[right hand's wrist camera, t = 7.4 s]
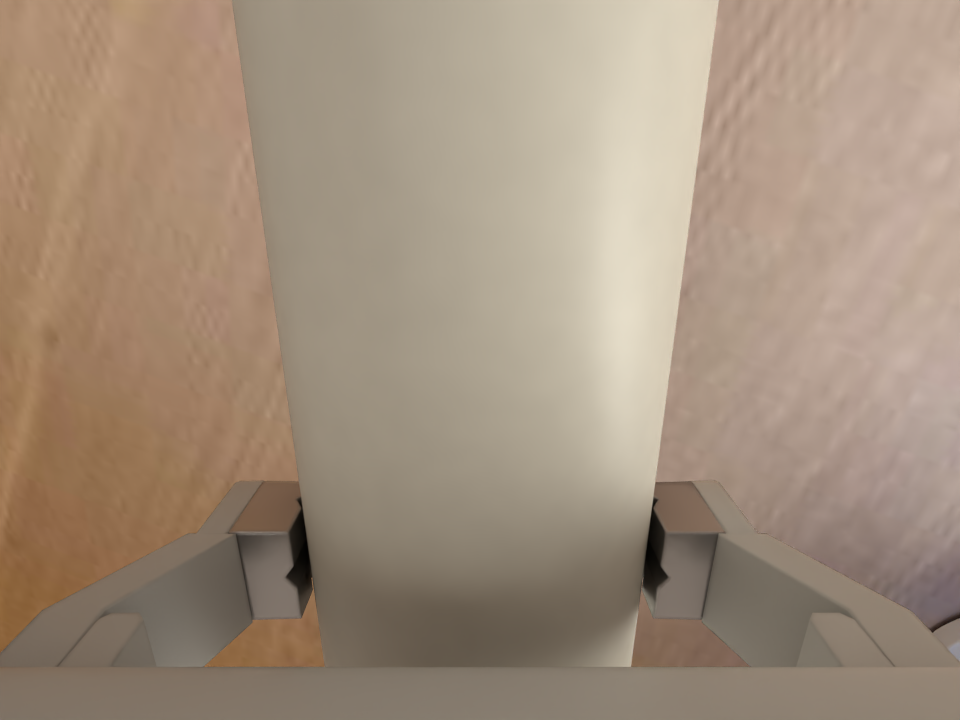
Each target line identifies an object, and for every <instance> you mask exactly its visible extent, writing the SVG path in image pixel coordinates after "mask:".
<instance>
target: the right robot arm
mask: <svg viewBox="0 0 960 720" xmlns="http://www.w3.org/2000/svg"><path fill="white" fill-rule="evenodd" d="M311 578H312V571H311V564H310V557H309V550H308V542H307V535H306V528H305V521H304V514H303V507H302V499H301V492H300V485H299V481H239V482H236V483H235V484H234V485H233V486H232V488H231V489H230V490H229V492H228V493H227V494H226V495H225V497H224V498H223V499H222V501H221V502H220V503H219V505H218V506H217V507H216V508H215V510H214V511H213V512H212V514H211V515H210V516H209V518H208V519H207V520H206V522H205V523H204V524H203V525H202V527H201V528H200V529H199V531H198V532H197V533H196V534H186V535H184V536H182V537H180V538H179V539H177V540H175V541H173V542H171V543H169V544H167V545H165V546H163V547H161V548H160V549H158V550H156V551H154V552H152V553H150V554H148V555H146V556H144V557H142V558H141V559H139V560H137V561H135V562H133V563H131V564H129V565H127V566H125V567H123V568H122V569H120V570H118V571H116V572H114V573H112V574H110V575H108V576H106V577H104V578H103V579H101V580H99V581H97V582H95V583H93V584H91V585H89V586H87V587H85V588H84V589H82V590H80V591H78V592H76V593H74V594H72V595H70V596H68V597H66V598H65V599H63V600H61V601H59V602H57V603H55V604H53V605H51V606H49V607H48V608H46V609H44V610H42V611H41V612H40V613H39V614H38V615H37V616H36V617H35V618H34V619H33V620H32V621H31V622H30V623H29V624H28V625H27V626H26V627H25V628H24V629H23V630H22V631H21V632H20V633H19V635H18V636H17V637H16V638H15V639H14V640H13V641H12V642H11V643H10V644H9V645H8V646H7V647H6V648H5V649H4V650H3V651H2V652H1V653H0V720H960V618H959V619H956V620H954V621H952V622H950V623H947V624H946V625H944V626H942V627H940V628H938V629H937V630H935V631H934V632H933V633H932V632H931V631H930V630H929V629H928V628H927V627H926V626H925V625H924V624H923V622H922V621H921V620H920V619H919V618H918V617H917V616H916V615H915V614H914V613H913V612H912V611H910V610H909V609H907V608H905V607H903V606H901V605H899V604H897V603H895V602H894V601H892V600H890V599H888V598H886V597H884V596H882V595H880V594H879V593H877V592H875V591H873V590H871V589H869V588H867V587H865V586H864V585H862V584H860V583H858V582H856V581H854V580H852V579H850V578H849V577H847V576H845V575H843V574H841V573H839V572H837V571H835V570H834V569H832V568H830V567H828V566H826V565H824V564H822V563H820V562H818V561H817V560H815V559H813V558H811V557H809V556H807V555H805V554H803V553H802V552H800V551H798V550H796V549H794V548H792V547H790V546H788V545H787V544H785V543H783V542H781V541H779V540H777V539H775V538H773V537H772V536H770V535H768V534H758V533H757V532H756V531H755V529H754V528H753V527H752V525H751V524H750V523H749V521H748V520H747V519H746V517H745V516H744V515H743V513H742V512H741V511H740V509H739V508H738V507H737V505H736V504H735V503H734V501H733V500H732V499H731V497H730V496H729V495H728V493H727V492H726V491H725V489H724V488H723V487H722V486H721V484H720V483H719V482H717V481H715V480H709V481H688V482H655V488H654V496H653V503H652V511H651V518H650V526H649V533H648V541H647V549H646V556H645V564H644V571H643V586H642V591H643V593H644V596H645V598H646V601H647V604H648V606H649V609H650V611H651V614H652V616H653V618H658V619H694V620H702V623H703V624H705V625H706V626H707V627H708V628H709V629H710V630H711V631H712V632H713V633H714V634H715V635H717V636H718V637H719V638H720V639H721V640H722V641H723V642H724V643H725V644H726V645H727V646H729V647H730V648H731V649H732V650H733V651H734V652H735V653H736V654H737V655H738V656H740V657H741V658H742V659H743V660H744V661H745V662H746V663H747V664H748V665H749V666H750V667H204V666H205V665H206V664H207V663H208V662H209V661H210V660H211V659H213V658H214V657H215V656H216V655H217V654H218V653H219V652H220V651H221V650H223V649H224V648H225V647H226V646H227V645H228V644H229V643H230V642H231V641H233V640H234V639H235V638H236V637H237V636H238V635H239V634H240V633H241V632H242V631H244V630H245V629H246V628H247V627H248V626H249V625H250V624H251V623H252V620H260V619H295V618H302V615H303V613H304V610H305V608H306V605H307V603H308V600H309V598H310V595H311V593H312V590H313V588H312V580H311Z"/></svg>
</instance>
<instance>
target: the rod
mask: <svg viewBox="0 0 960 720" xmlns="http://www.w3.org/2000/svg"><path fill="white" fill-rule="evenodd" d="M718 3H719V0H232V5H233V12H234V19H235V27H236V34H237V41H238V48H239V55H240V62H241V70H242V77H243V84H244V91H245V98H246V105H247V113H248V120H249V127H250V134H251V141H252V148H253V156H254V163H255V170H256V177H257V184H258V191H259V199H260V206H261V213H262V220H263V227H264V234H265V242H266V249H267V256H268V263H269V270H270V277H271V285H272V292H273V299H274V306H275V313H276V320H277V328H278V335H279V342H280V349H281V356H282V363H283V370H284V378H285V385H286V392H287V399H288V406H289V413H290V421H291V428H292V435H293V442H294V449H295V456H296V464H297V471H298V478H299V485H300V492H301V499H302V507H303V514H304V521H305V528H306V535H307V542H308V550H309V557H310V564H311V571H312V578H313V585H314V593H315V600H316V607H317V614H318V621H319V628H320V636H321V643H322V650H323V657H324V664H325V667H631V662H632V655H633V647H634V640H635V632H636V624H637V617H638V609H639V602H640V594H641V587H642V579H643V571H644V564H645V556H646V549H647V541H648V533H649V526H650V518H651V511H652V503H653V496H654V488H655V480H656V473H657V465H658V458H659V450H660V443H661V435H662V427H663V420H664V412H665V405H666V397H667V389H668V382H669V374H670V367H671V359H672V352H673V344H674V336H675V329H676V321H677V314H678V306H679V299H680V291H681V283H682V276H683V268H684V261H685V253H686V245H687V238H688V230H689V223H690V215H691V208H692V200H693V192H694V185H695V177H696V170H697V162H698V155H699V147H700V139H701V132H702V124H703V117H704V109H705V101H706V94H707V86H708V79H709V71H710V64H711V56H712V48H713V41H714V33H715V26H716V18H717V10H718Z"/></svg>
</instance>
